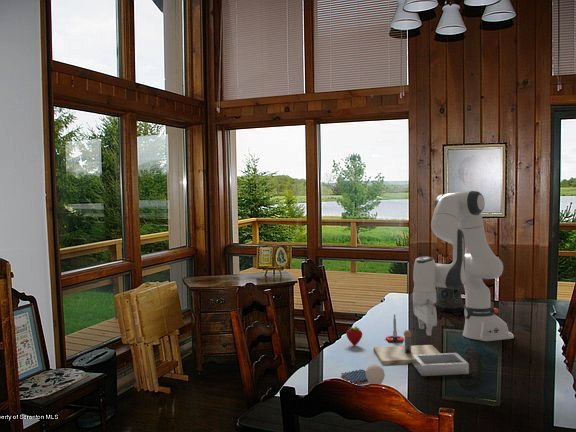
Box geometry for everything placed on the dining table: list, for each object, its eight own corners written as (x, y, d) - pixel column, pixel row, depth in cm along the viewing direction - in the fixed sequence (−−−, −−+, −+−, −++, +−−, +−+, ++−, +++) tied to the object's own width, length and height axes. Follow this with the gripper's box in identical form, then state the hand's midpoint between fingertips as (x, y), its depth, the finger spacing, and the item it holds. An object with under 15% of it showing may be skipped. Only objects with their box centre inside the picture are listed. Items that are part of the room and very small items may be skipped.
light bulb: (364, 393, 180) (363, 362, 180) (382, 391, 181) (381, 361, 180) (368, 400, 174) (367, 368, 173) (387, 399, 174) (386, 367, 174)
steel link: (456, 362, 208) (456, 352, 208) (468, 373, 195) (468, 363, 195) (412, 364, 208) (412, 354, 207) (422, 376, 195) (421, 365, 194)
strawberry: (348, 342, 240) (348, 321, 239) (364, 344, 236) (363, 322, 236) (344, 346, 234) (343, 324, 234) (360, 348, 231) (359, 326, 231)
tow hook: (385, 337, 247) (386, 342, 238) (384, 311, 247) (385, 314, 238) (403, 338, 246) (404, 342, 237) (402, 311, 246) (403, 315, 237)
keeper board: (431, 348, 227) (431, 323, 227) (445, 361, 209) (445, 334, 209) (373, 350, 227) (372, 325, 226) (382, 364, 209) (381, 337, 208)
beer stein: (439, 304, 310) (438, 263, 308) (472, 308, 298) (471, 265, 297) (429, 310, 296) (428, 267, 295) (463, 314, 285) (462, 269, 284)
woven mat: (354, 387, 187) (354, 381, 187) (339, 378, 197) (339, 372, 197) (378, 382, 192) (378, 376, 191) (363, 373, 201) (363, 368, 201)
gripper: (441, 302, 195) (441, 338, 196) (425, 292, 216) (425, 325, 216) (424, 303, 195) (424, 339, 196) (410, 293, 215) (410, 325, 216)
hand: (425, 331), depth 206 cm, fingers open, 8 cm apart
